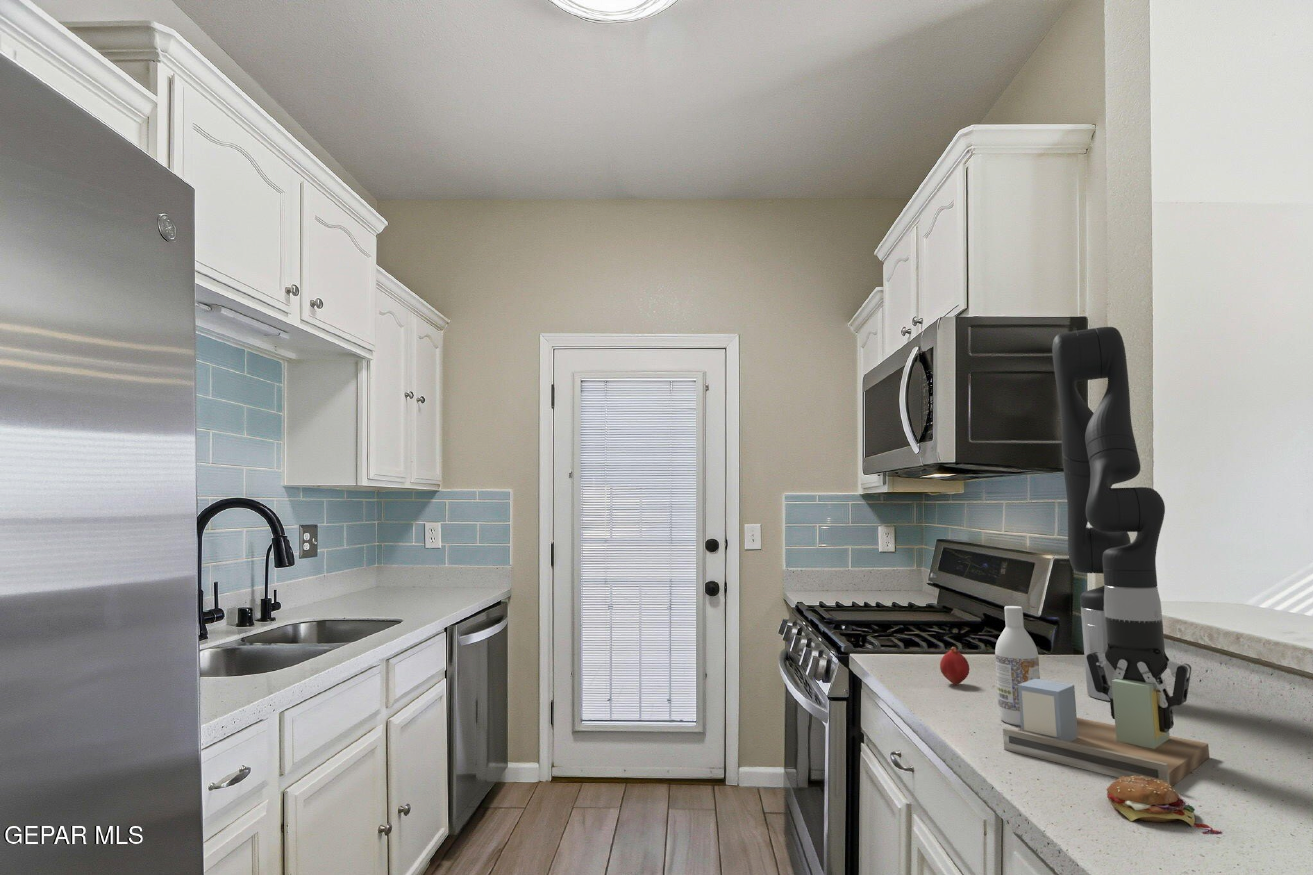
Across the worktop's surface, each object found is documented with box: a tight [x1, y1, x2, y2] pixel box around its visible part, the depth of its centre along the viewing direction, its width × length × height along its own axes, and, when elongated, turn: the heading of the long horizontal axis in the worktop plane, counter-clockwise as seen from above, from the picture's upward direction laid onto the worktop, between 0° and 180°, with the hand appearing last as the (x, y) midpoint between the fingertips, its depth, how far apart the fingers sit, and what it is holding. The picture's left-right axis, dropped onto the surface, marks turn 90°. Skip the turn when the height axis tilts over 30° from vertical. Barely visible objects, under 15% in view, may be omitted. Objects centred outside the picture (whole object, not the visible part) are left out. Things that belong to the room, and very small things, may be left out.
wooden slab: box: [1002, 717, 1210, 787], centre depth 112 cm, size 19×22×3 cm
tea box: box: [1112, 678, 1171, 749], centre depth 112 cm, size 5×7×9 cm
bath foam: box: [994, 605, 1041, 727], centre depth 130 cm, size 7×7×20 cm
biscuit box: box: [1018, 678, 1078, 742], centre depth 114 cm, size 6×6×8 cm
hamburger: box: [1105, 776, 1222, 835], centre depth 90 cm, size 14×14×6 cm
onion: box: [939, 646, 970, 686], centre depth 155 cm, size 6×6×8 cm
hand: (1142, 726), depth 112 cm, fingers open, 5 cm apart
